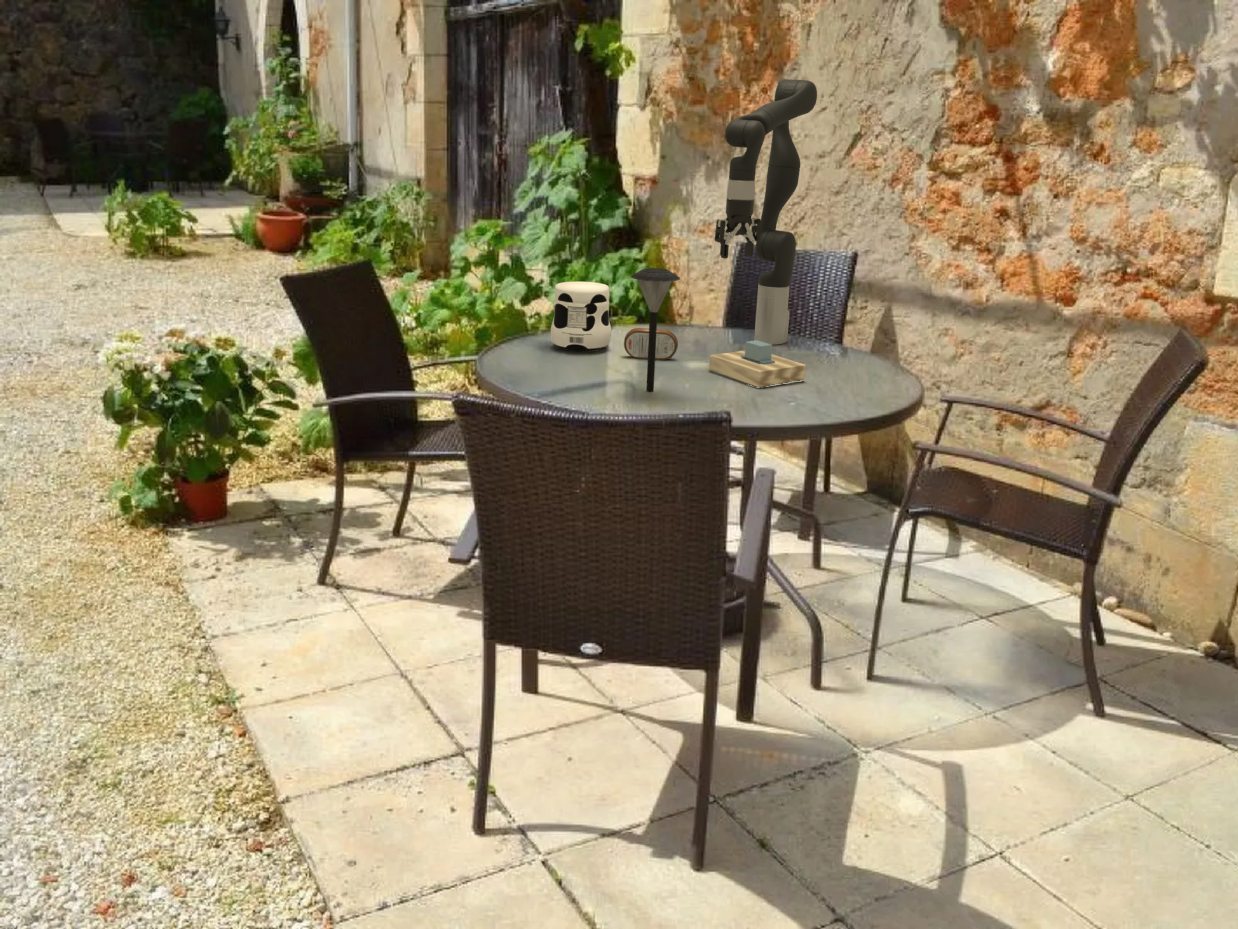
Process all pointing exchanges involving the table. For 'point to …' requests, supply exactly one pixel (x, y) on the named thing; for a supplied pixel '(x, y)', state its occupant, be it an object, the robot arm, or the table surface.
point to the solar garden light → (653, 308)
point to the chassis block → (756, 369)
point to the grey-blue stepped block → (758, 352)
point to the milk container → (581, 316)
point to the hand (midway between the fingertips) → (736, 257)
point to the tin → (639, 341)
